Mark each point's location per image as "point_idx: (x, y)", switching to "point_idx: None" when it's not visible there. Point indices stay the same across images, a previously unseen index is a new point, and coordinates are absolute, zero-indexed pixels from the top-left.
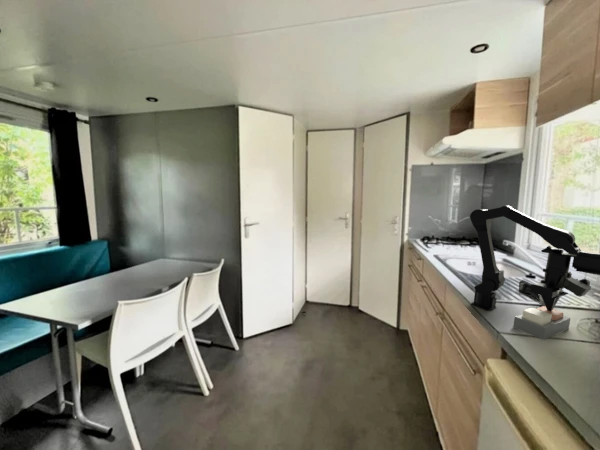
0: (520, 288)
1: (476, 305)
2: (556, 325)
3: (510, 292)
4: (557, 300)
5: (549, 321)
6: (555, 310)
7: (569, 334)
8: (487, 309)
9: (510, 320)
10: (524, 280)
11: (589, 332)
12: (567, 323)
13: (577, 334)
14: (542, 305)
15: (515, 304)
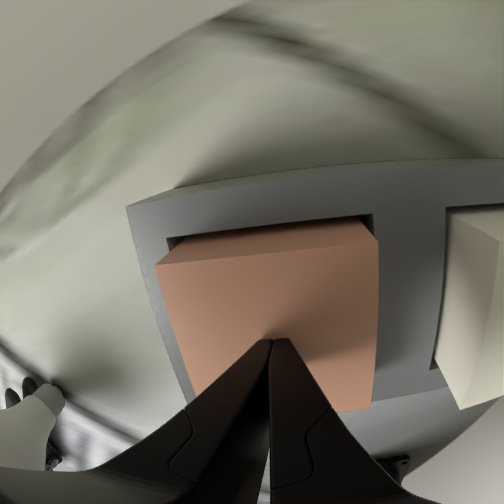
0: (56, 462)
1: (401, 480)
2: (436, 165)
3: None
4: (184, 436)
5: (479, 216)
6: (199, 329)
7: (266, 128)
8: (407, 458)
9: None
10: None
11: (87, 125)
12: (190, 189)
13: (199, 113)
14: (61, 394)
15: None
